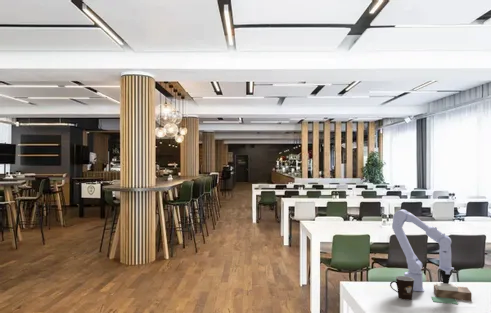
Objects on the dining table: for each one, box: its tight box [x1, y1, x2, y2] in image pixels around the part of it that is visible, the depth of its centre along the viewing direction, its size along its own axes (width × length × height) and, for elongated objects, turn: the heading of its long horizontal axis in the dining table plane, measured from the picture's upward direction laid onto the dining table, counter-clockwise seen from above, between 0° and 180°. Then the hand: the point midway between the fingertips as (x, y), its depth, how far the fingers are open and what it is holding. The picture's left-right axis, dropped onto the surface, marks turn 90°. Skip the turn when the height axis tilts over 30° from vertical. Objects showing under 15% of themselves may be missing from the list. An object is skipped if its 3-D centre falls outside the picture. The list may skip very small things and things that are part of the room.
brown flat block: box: [433, 283, 473, 302], centre depth 203 cm, size 16×10×4 cm, turn 71°
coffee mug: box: [389, 275, 414, 301], centre depth 200 cm, size 12×9×10 cm
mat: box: [430, 296, 459, 305], centre depth 195 cm, size 11×8×1 cm
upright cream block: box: [436, 282, 459, 291], centre depth 202 cm, size 9×6×2 cm, turn 71°
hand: (445, 284), depth 206 cm, fingers closed
